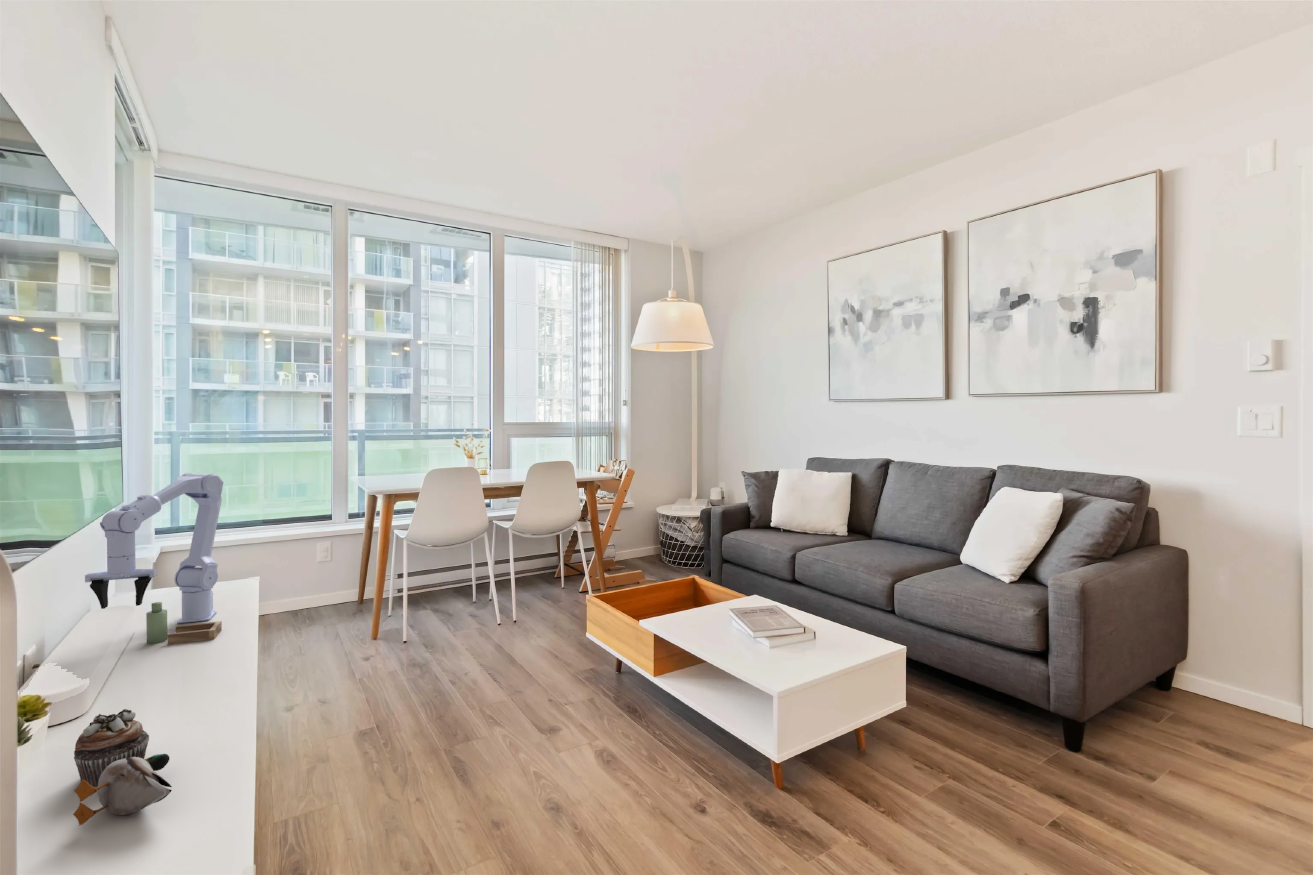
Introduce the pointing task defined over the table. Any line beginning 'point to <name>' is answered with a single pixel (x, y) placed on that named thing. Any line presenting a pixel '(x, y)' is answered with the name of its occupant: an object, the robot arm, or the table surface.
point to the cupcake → (108, 744)
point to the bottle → (156, 624)
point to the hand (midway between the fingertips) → (121, 606)
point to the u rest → (195, 632)
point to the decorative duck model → (125, 787)
